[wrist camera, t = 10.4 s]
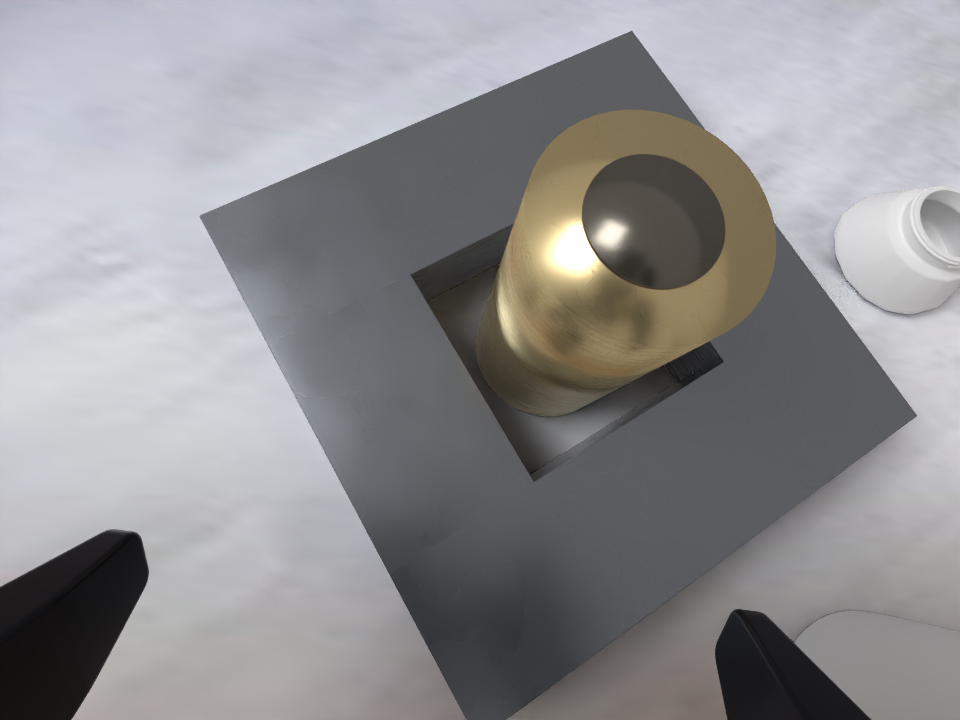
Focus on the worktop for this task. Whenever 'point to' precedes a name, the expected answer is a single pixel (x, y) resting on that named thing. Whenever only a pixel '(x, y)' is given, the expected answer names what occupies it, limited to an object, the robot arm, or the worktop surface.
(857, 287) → the white jar
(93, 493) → the worktop surface
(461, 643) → the plate
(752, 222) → the brass bushing
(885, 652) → the mug
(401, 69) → the worktop surface
